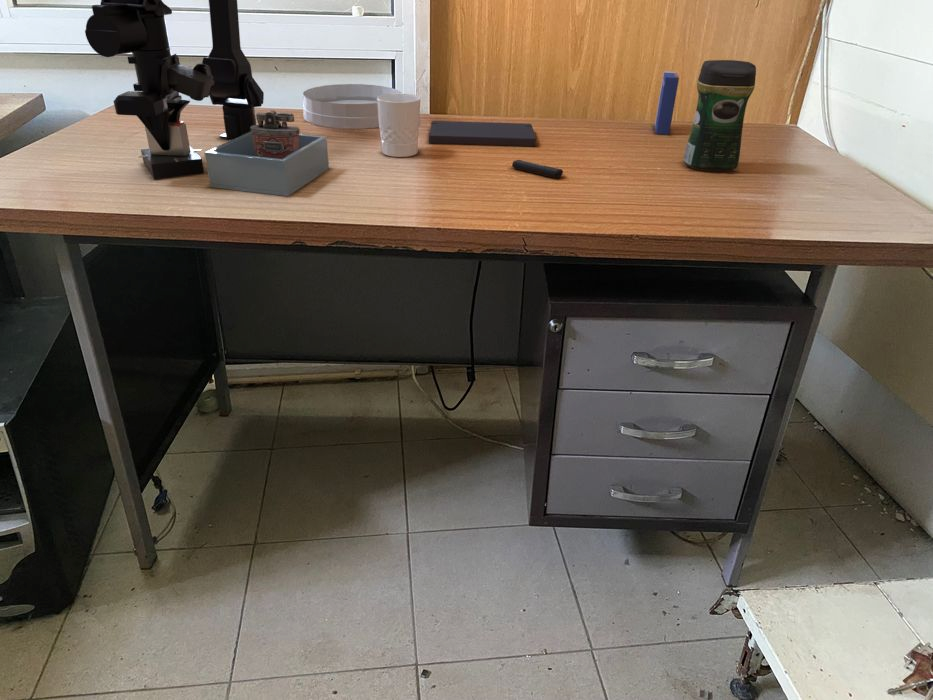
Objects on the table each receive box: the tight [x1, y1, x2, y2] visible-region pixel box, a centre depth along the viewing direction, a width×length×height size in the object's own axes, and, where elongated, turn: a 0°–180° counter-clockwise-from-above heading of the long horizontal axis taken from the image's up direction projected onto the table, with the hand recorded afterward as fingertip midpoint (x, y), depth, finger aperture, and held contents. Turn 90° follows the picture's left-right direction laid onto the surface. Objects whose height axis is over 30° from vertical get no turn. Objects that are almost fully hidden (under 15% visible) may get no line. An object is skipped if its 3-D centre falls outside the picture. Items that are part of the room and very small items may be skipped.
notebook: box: [428, 120, 537, 147], centre depth 144 cm, size 13×2×21 cm
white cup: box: [377, 92, 421, 158], centre depth 130 cm, size 8×8×10 cm
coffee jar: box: [683, 59, 757, 172], centre depth 126 cm, size 10×8×19 cm
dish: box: [302, 83, 403, 130], centre depth 155 cm, size 22×22×5 cm
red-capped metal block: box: [144, 120, 191, 156], centre depth 117 cm, size 6×2×5 cm, turn 86°
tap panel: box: [138, 145, 205, 180], centre depth 119 cm, size 10×10×3 cm
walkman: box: [654, 70, 680, 136], centre depth 151 cm, size 8×3×12 cm, turn 169°
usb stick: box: [511, 159, 564, 179], centre depth 124 cm, size 10×3×2 cm, turn 54°
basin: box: [204, 131, 330, 197], centre depth 116 cm, size 16×14×6 cm
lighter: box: [250, 109, 301, 159], centre depth 115 cm, size 8×3×10 cm, turn 84°
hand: (169, 147), depth 118 cm, fingers closed on red-capped metal block, 2 cm apart
